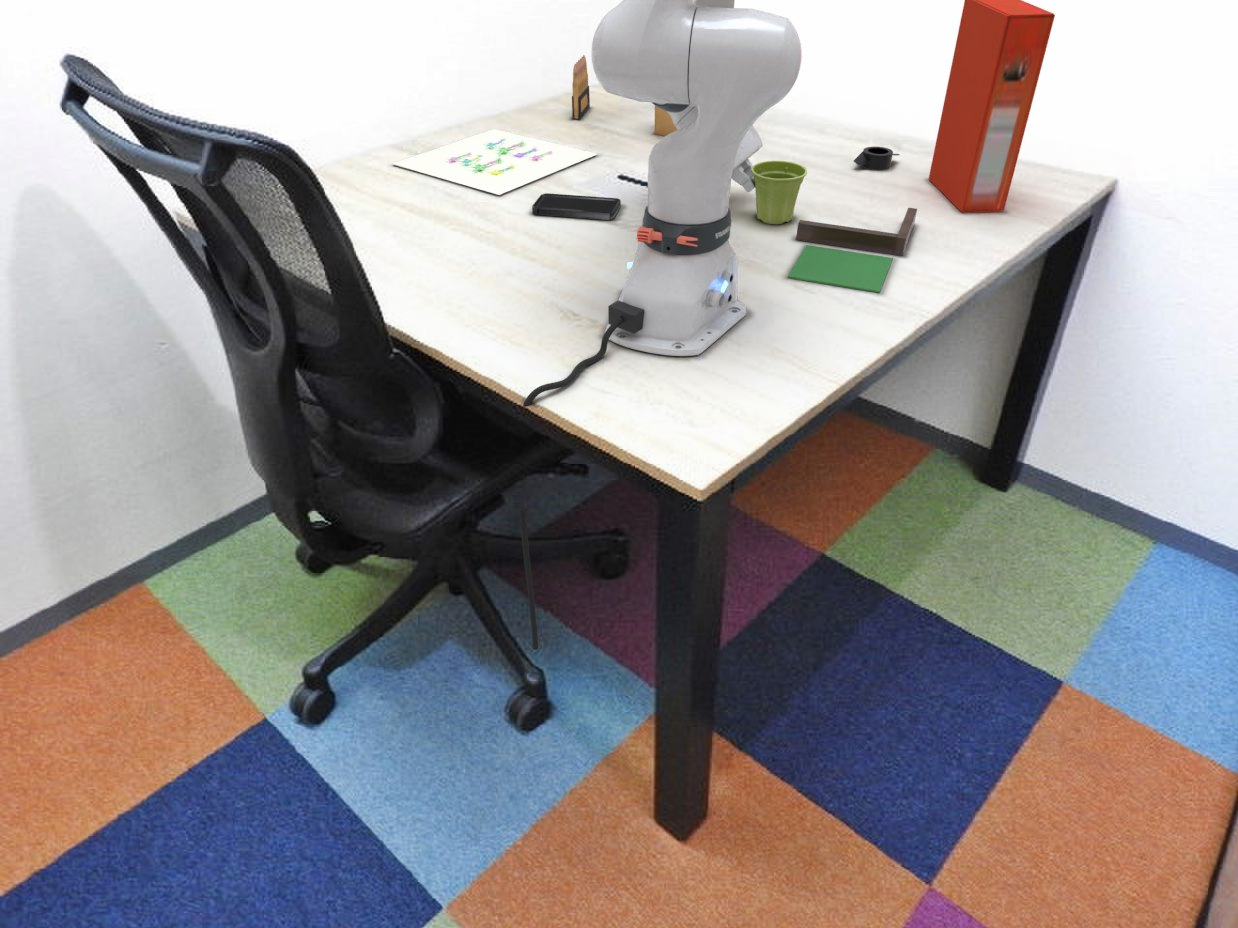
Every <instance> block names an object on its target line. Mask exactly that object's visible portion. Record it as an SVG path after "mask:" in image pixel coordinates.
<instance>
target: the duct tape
mask: <svg viewBox="0 0 1238 928" xmlns="http://www.w3.org/2000/svg"><path fill="white" fill-rule="evenodd" d="M900 155H901V154H899V153H894V151H893V150H892V149H890V148H888V147H884V146H867V147H864V148H863V150H862V151H861V152H860V153H859V154H858V155H857V157H855V158H854V159H853V163H855V164H856V165H858V166H861V167H862V168H864V169H867V170H870V171H885V170H886V171H887V170H889V169H890V168H891V166H892V160H893V156H900Z"/></svg>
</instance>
